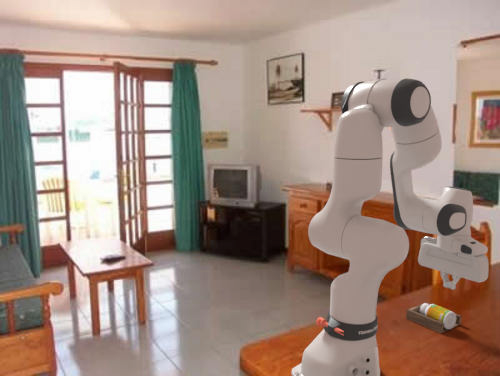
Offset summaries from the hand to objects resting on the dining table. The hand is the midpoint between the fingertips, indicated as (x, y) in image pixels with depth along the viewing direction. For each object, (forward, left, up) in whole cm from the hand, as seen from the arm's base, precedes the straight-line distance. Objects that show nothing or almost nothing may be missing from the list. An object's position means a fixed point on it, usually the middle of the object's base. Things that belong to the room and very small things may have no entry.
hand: (449, 287), depth 133 cm
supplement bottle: (-1, -2, -9) cm, 10 cm away
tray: (+1, +5, -13) cm, 13 cm away
